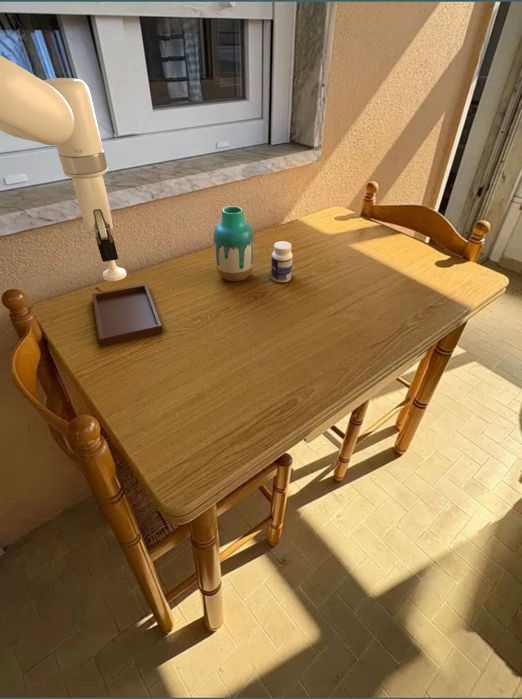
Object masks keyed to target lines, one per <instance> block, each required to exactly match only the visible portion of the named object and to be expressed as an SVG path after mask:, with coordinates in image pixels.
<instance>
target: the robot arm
mask: <svg viewBox="0 0 522 699" xmlns="http://www.w3.org/2000/svg"><path fill="white" fill-rule="evenodd" d="M95 112H96V111H95V108H94V104H93V100H92V95H91V92H90V88H89V86H88V85H87V83H86V82H85V81H84V80H82V79H79V78H75V77H74V78H73V77H55V78H47V79H44V80H42V79H41V78H39V77H38V76H36V75H34V74H33V73H31V72H29V71H28V70H27V69H24V68H23V67H21V66H20V65H18V64H17V63H15V62H13V61H11V60H10V59H8V58H6V57H4V56H2V55H1V54H0V131H1V132H3V133H4V134H7V135H9V136H12V137H14V138H18V139H23V140H27V141H31V142H35V143H39V144H42V145H45V146H46V145H47V146H55V147H56V151H57V155H58V157H59V161H60V164H61V167H62V170H63V174H64V175H65V177H69V178H71V181H72V185H73V188H74V193H75V196H76V199H77V203H78V206H79V209H80V213H81V216H82V220H83V223H84V227H85V230H86V232H87V233H89V234H91V232H94V233H95V239H96V244H97V247H98V252H99V254H100V259H101V261H102V262H104V263H105V262H108V261H112V260H114V261H117V260H119V255H118V251H117V247H116V243H115V241H114V240H115V239H114V237H113V234H112V233H111V230H113V229H114V228H113V227H114V226H113V219H112V212H111V206H110V202H109V197H108V193H107V188H106V184H105V180H104V174H107V172H109V168H108V163H107V159H106V155H105V150H104V147H103V142H102V137H101V134H100V130H99V126H98V125H99V124H98V121H97V117H96V113H95Z"/></svg>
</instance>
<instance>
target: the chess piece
mask: <svg viewBox="0 0 522 699" xmlns="http://www.w3.org/2000/svg"><path fill="white" fill-rule="evenodd" d="M107 265H108V268H107V269H105V270H104V271H103V272H102V278H103V280H105V281H107V282H117V281H120V280H121V281H122V280H123V279H124V278H126V276H127V271H126V269H125V268H123V267H120V266H117V264H116V260H112V261H107Z"/></svg>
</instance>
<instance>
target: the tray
mask: <svg viewBox="0 0 522 699" xmlns="http://www.w3.org/2000/svg"><path fill="white" fill-rule="evenodd" d="M91 294H92V295H91V297H92V302H93V310H94V316H95V323H96V329H97V336H98V342H99V343H100V347H103V348H104V347H107V346H111V345H115V344H120V343H125V342H128V341H132V340H133V341H134V340H137V339H142V338H145V337H150V336H155V335H159V334H163V333H164V330H163V326H162V322H161V320H160V317H159V314H158V311H157V308H156V305H155V302H154V300H153V298H152V294H151V292H150V290H149V287H148V283H144V284H137V285H132V286H127V287H121V288H115V289H110V290H106V291H100V292H95V293H91Z"/></svg>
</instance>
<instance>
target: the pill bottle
mask: <svg viewBox="0 0 522 699" xmlns="http://www.w3.org/2000/svg"><path fill="white" fill-rule="evenodd" d="M293 256H294V255H293V252H292V243H290V242H289V241H285V240H280V241H276V242H275V243H274V244H273V251H272V253H271V267H270V276H271V279H272V281H274V282H276V283H287V282H288V281H291V279H292V274H293V273H292V272H293V271H292V270H293V260H294V259H293Z"/></svg>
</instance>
